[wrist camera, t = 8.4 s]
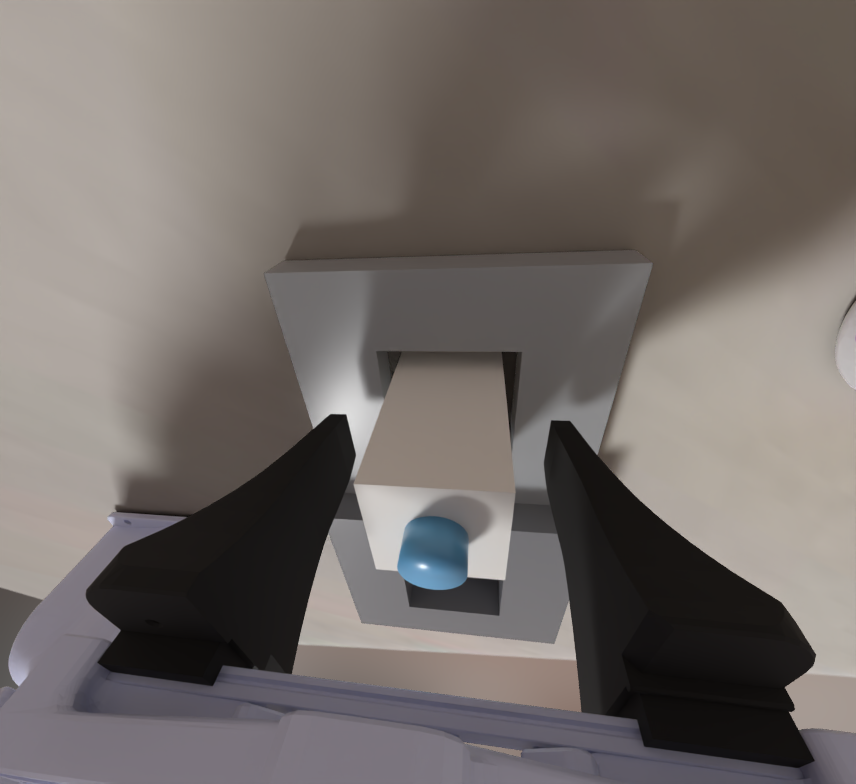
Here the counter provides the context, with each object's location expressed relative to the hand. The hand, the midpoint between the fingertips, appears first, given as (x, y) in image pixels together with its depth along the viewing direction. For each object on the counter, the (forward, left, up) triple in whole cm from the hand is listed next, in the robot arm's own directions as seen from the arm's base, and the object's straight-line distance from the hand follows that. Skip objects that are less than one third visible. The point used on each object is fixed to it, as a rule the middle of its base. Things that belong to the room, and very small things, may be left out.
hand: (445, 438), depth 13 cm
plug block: (0, 0, -3) cm, 3 cm away
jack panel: (0, -6, -3) cm, 6 cm away
